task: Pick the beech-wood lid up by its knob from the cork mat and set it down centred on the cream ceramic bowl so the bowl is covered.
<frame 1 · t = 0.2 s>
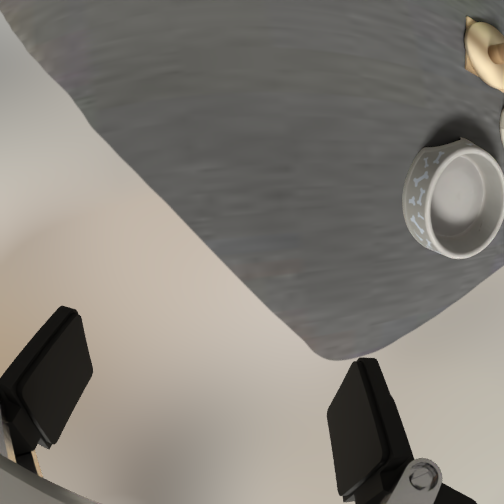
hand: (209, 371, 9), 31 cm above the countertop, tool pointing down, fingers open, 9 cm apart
dog bowl: (451, 195, 37), on the countertop
mat: (488, 55, 27), on the countertop
lid: (490, 55, 26), resting on mat
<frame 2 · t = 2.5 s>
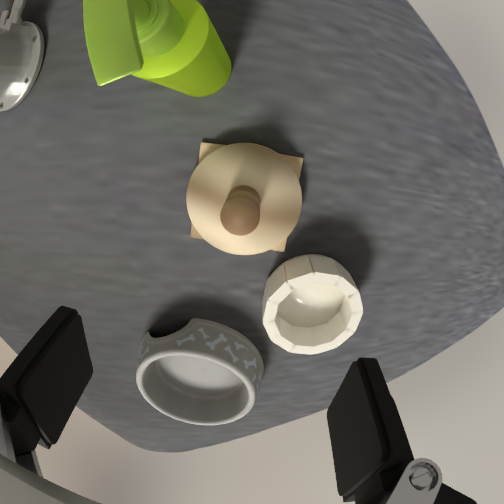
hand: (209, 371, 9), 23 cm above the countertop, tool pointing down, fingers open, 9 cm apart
dog bowl: (200, 366, 41), on the countertop
mat: (244, 197, 30), on the countertop
lid: (244, 198, 30), resting on mat
soap dispenser: (202, 74, 25), on the countertop
bowl: (308, 294, 35), on the countertop
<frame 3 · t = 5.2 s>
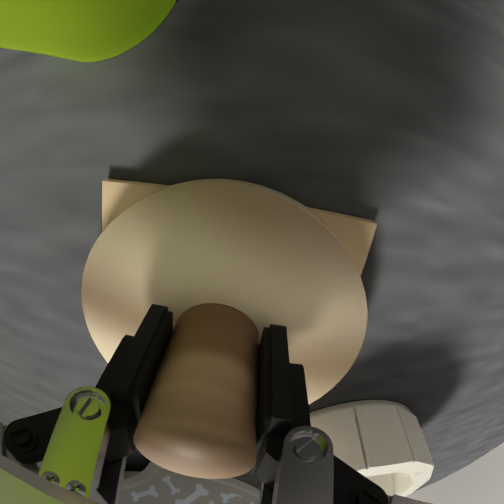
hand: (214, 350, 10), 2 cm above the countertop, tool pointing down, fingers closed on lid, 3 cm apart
dog bowl: (176, 489, 23), on the countertop
mat: (221, 314, 12), on the countertop
lid: (220, 319, 12), resting on mat, touching gripper
soap dispenser: (113, 7, 8), on the countertop
bowl: (341, 444, 17), on the countertop
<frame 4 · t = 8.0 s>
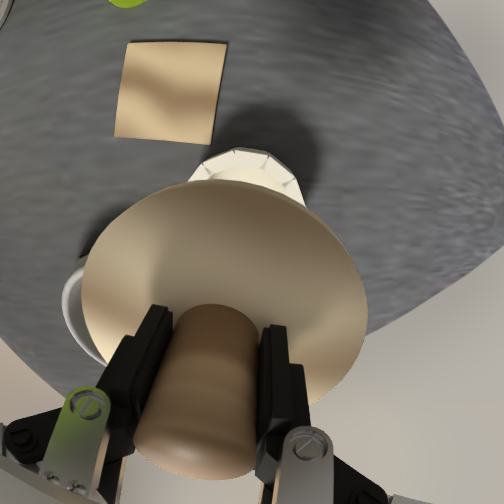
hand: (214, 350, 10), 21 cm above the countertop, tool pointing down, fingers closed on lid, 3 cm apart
dog bowl: (136, 302, 35), on the countertop
mat: (167, 90, 25), on the countertop
lid: (220, 320, 12), point 19 cm above the countertop, touching gripper
bowl: (244, 201, 29), on the countertop
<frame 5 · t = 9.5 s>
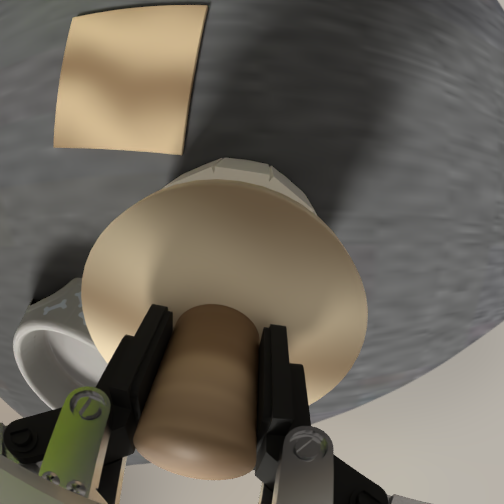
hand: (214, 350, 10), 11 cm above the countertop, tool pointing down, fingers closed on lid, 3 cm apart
dog bowl: (103, 355, 26), on the countertop
mat: (121, 75, 16), on the countertop
lid: (220, 320, 12), point 9 cm above the countertop, touching gripper
bowl: (234, 238, 20), on the countertop
when the fingers open (8 cm above the countertop, at t = 10.8 s): lid drops 1 cm, resting on bowl.
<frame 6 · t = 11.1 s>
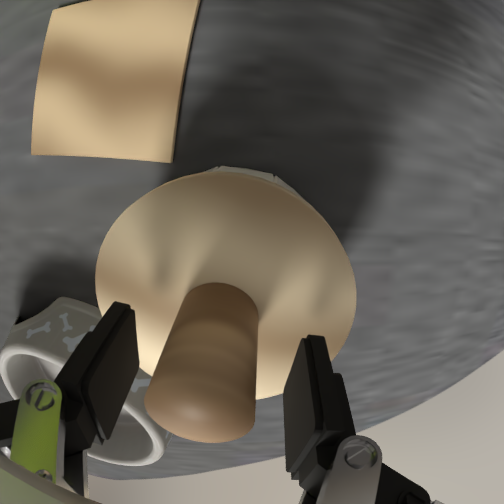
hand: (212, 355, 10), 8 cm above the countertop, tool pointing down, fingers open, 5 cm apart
dog bowl: (94, 376, 23), on the countertop
mat: (102, 72, 13), on the countertop
lid: (222, 300, 13), point 4 cm above the countertop, touching bowl
bowl: (233, 258, 17), on the countertop
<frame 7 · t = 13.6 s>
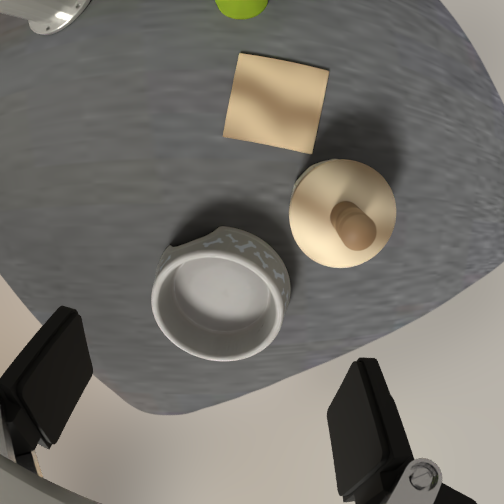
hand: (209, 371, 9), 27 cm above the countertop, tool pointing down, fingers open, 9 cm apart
dog bowl: (221, 290, 40), on the countertop
mat: (276, 102, 30), on the countertop
lid: (342, 213, 30), point 4 cm above the countertop, touching bowl
soap dispenser: (243, 3, 25), on the countertop
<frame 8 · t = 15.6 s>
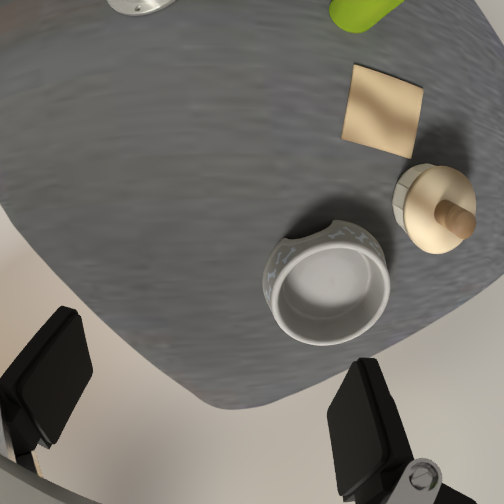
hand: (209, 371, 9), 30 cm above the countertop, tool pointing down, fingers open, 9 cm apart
dog bowl: (326, 279, 43), on the countertop
mat: (384, 111, 32), on the countertop
lid: (439, 209, 32), point 4 cm above the countertop, touching bowl
soap dispenser: (351, 17, 27), on the countertop
bowl: (424, 200, 37), on the countertop
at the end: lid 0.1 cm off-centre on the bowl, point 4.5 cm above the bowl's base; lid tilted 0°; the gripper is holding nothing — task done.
